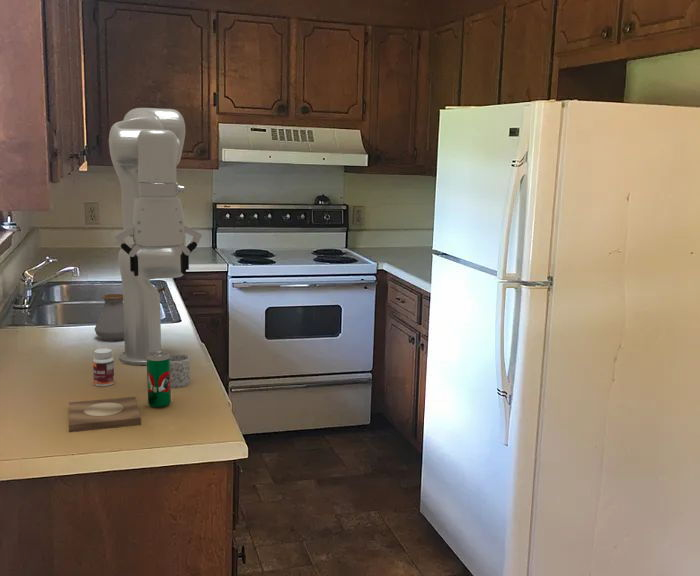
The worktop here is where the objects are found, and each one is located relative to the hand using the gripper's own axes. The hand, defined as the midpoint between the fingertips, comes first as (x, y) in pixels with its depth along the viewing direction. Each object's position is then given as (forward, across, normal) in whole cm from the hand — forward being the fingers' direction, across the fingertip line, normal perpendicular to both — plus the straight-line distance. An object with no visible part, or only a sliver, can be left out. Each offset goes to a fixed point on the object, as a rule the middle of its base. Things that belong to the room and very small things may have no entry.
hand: (159, 274), depth 154 cm
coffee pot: (+31, +1, -70) cm, 77 cm away
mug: (+31, -4, -22) cm, 38 cm away
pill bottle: (+31, +11, -26) cm, 42 cm away
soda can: (+31, 0, -7) cm, 32 cm away
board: (+31, +12, -3) cm, 33 cm away
